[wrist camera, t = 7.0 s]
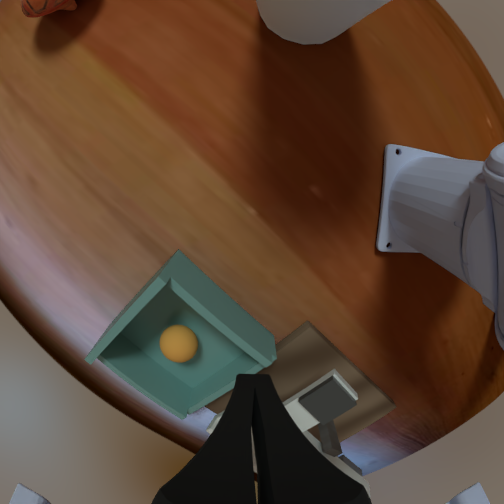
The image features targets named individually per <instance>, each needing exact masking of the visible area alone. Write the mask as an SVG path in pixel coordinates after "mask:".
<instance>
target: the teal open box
mask: <svg viewBox="0 0 504 504" xmlns="http://www.w3.org/2000/svg"><path fill="white" fill-rule="evenodd" d="M172 325H184V326H187V327H188V328H190V329H191V330H192V331H193V332H194V333H195V335H196V337H197V340H198V349H197V352H196V354H195V355H194V356H193V358H191V359H190V360H188V361H186V362H182V363H177V362H173V361H171V360H169V359H167V358H166V357H165V356H164V355H163V353H162V351H161V349H160V337H161V334H162V333H163V331H164V330H165V329H166V328H168V327H170V326H172ZM96 358H98V359H99V360H100V361H101V362H102V363H103V364H105V365H106V366H107V367H108V368H110V369H111V370H112V371H113V372H115V373H116V374H117V375H118V376H120V377H121V378H122V379H123V380H125V381H126V382H127V383H129V384H130V385H131V386H133V387H134V388H135V389H137V390H138V391H140V392H141V393H142V394H144V395H145V396H147V397H148V398H150V399H151V400H152V401H154V402H155V403H157V404H158V405H160V406H161V407H163V408H164V409H166V410H168V411H169V412H171V413H172V414H174V415H175V416H177V417H179V418H180V419H184V418H186V416H187V414H189V415H190V414H191V413H193V412H195V411H197V410H198V409H200V408H202V407H203V406H205V405H207V404H208V403H210V402H212V401H213V400H215V399H217V398H218V397H220V396H222V395H223V394H225V393H226V392H228V391H230V390H231V389H233V388H234V385H235V381H236V375H238V374H256V373H257V372H259V371H260V370H262V369H263V368H264V367H268V366H269V365H271V364H272V362H273V361H275V360H276V359H277V355H276V348H275V340H274V335H273V334H271V333H270V332H269V331H268V330H267V329H266V328H264V327H263V326H262V325H261V324H260V323H259V322H258V321H256V320H255V319H254V318H253V317H252V316H251V315H250V314H248V313H247V312H246V311H245V310H244V309H243V308H242V307H241V306H239V305H238V304H237V303H236V302H235V301H234V300H233V299H232V298H230V297H229V296H228V295H227V294H226V293H225V292H224V291H223V290H222V289H221V288H219V287H218V286H217V285H216V284H215V283H214V282H213V281H212V280H211V279H210V278H209V277H208V276H206V275H205V274H204V273H203V272H202V271H201V270H200V269H199V268H198V267H197V266H196V265H195V264H194V263H193V262H191V261H190V260H189V259H188V258H187V257H186V256H185V255H184V254H183V253H182V252H181V251H180V250H179V249H178V250H177V251H176V252H175V253H174V254H173V256H172V257H171V258H170V259H169V260H168V261H167V262H166V263H165V264H164V265H163V266H162V267H161V268H160V269H159V270H158V271H157V273H156V274H155V275H154V276H153V277H152V278H151V279H150V280H149V281H148V282H147V283H146V284H145V286H144V287H143V288H142V289H141V290H140V291H139V292H138V293H137V294H136V295H135V297H134V298H133V299H132V300H131V301H130V302H129V303H128V304H127V306H126V307H125V308H124V309H123V310H122V311H121V312H120V313H119V315H118V316H117V317H116V318H115V319H114V320H113V321H112V323H111V324H110V325H109V326H108V328H107V329H106V330H105V332H104V333H103V334H102V336H101V337H100V338H99V340H98V341H97V343H96V344H95V345H94V347H93V348H92V350H91V351H90V352H89V354H88V355H87V357H86V358H85V360H86V361H87V362H88V363H89V364H92V362H93V361H94V360H95V359H96Z"/></svg>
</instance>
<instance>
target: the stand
mask: <svg viewBox="0 0 504 504" xmlns="http://www.w3.org/2000/svg"><path fill="white" fill-rule="evenodd" d="M275 348H276V355H277V359H276V360H275V361H273V362H272V364H271V365H269V366H268V367H264V368H263V369H262V370H260V371H259V372H257V373H256V374H269V375H270V376H271V379H272V382H273V384H274V387H275V389H276V391H277V393H278V395H279V397H280V399H281V401H282V402H284V401H286V400H287V399H289V398H291V397H292V396H294V395H295V394H297V393H299V392H300V391H302V390H303V389H305V388H306V387H308V386H309V385H311V384H312V383H314V382H315V381H317V380H318V379H320V378H321V377H323V376H324V375H326V374H327V373H329V372H330V371H331V370H333V369H335V370H336V371H337V372H338V373H339V374H340V375H341V376H342V377H343V378H344V380H345V381H346V382H347V383H348V384H349V385H350V386H351V387H352V388H353V389H354V391H355V392H356V393H357V395H358V399H357V400H356V403H357V405H356V406H354V407H353V408H351V409H350V410H348V411H346V412H345V413H343V414H342V415H340V416H338V417H337V418H335V419H333V420H332V421H330V422H328V423H327V424H325V425H322V424H321V423H319V424H317V425H315V426H313V427H311V428H310V429H308V430H307V431H308V432H309V433H311V434H312V435H313V436H314V437H315V438H316V439H317V440H318V441H320V442H321V443H322V446H323V451H324V453H326V454H328V455H331V456H333V457H336V456H338V455H339V454H341V453H342V450H341V446H340V442H341V441H343V440H345V439H347V438H349V437H350V436H352V435H354V434H356V433H357V432H359V431H361V430H362V429H364V428H366V427H367V426H369V425H370V424H372V423H374V422H375V421H377V420H378V419H380V418H381V417H383V416H384V415H386V414H387V413H389V412H390V411H392V410H393V409H395V408H396V405H395V403H394V401H393V400H392V399H390V398H389V397H388V396H387V395H386V394H385V393H384V392H383V391H382V390H381V389H380V388H379V387H378V386H377V385H376V384H374V383H373V382H372V381H371V380H370V379H369V378H368V377H367V376H366V375H365V374H364V373H363V372H362V371H361V370H360V369H359V368H357V367H356V366H355V365H354V364H353V363H352V362H351V361H350V360H349V359H348V358H347V357H346V356H345V355H344V354H343V353H342V352H341V351H339V350H338V349H337V348H336V347H335V346H334V345H333V344H332V343H331V342H330V341H329V340H328V339H327V338H326V337H325V336H324V335H323V334H322V333H321V332H320V331H318V330H317V329H316V328H315V327H314V326H313V325H312V324H311V323H310V322H309V321H306V322H305V323H304V324H303V325H301V326H300V327H299V328H297V329H296V330H295V331H294V332H292V333H291V334H290V335H288V336H287V337H286V338H284V339H283V340H282V341H280V342H279V343H278V344H276V345H275ZM233 389H234V388H233ZM233 389H231V390H230V391H228V392H226V393H225V394H223V395H222V396H220V397H218V398H217V399H215V400H213V401H212V402H210V403H208V404H207V405H205V407H206V408H208V409H210V410H211V411H213V412H215V413H216V414H219V413H221V412H222V411H224V410H225V409H226V406H227V404H228V402H229V399H230V397H231V394H232V392H233Z"/></svg>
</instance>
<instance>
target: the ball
mask: <svg viewBox="0 0 504 504" xmlns="http://www.w3.org/2000/svg"><path fill="white" fill-rule="evenodd" d="M160 349H161V351H162V353H163V355H164V356H165V357H166V358H167V359H169V360H171V361H173V362H177V363H182V362H186V361H188V360H190V359H191V358H193V356H194V355H195V354H196V352H197V349H198V340H197V337H196V335H195V333H194V332H193V331H192V330H191V329H190V328H188V327H187V326H184V325H172V326H170V327H168V328H166V329H165V330H164V331H163V333H162V334H161V337H160Z"/></svg>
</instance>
